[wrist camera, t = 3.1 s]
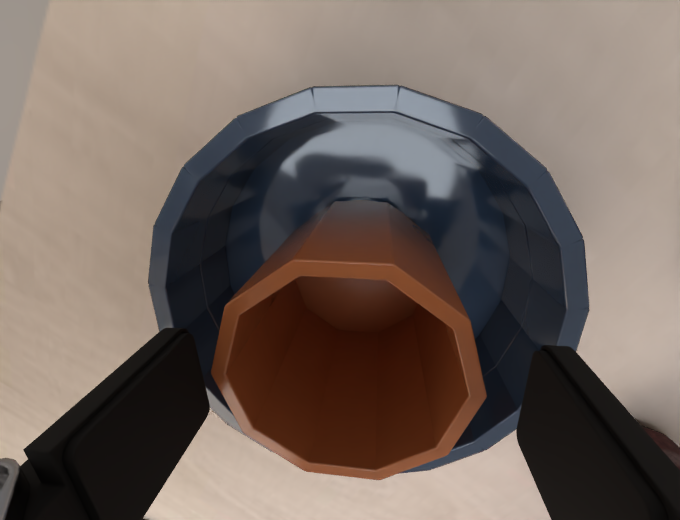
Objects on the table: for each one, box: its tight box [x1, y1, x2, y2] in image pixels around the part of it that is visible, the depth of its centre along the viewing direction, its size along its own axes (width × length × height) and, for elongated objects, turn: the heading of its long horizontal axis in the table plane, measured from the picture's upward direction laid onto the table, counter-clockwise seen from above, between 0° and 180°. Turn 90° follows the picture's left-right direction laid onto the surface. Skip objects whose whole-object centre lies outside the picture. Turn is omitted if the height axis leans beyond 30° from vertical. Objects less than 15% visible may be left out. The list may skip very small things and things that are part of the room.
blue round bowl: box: [148, 85, 589, 474], centre depth 14 cm, size 15×15×6 cm
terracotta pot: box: [211, 200, 487, 480], centre depth 13 cm, size 7×8×8 cm
